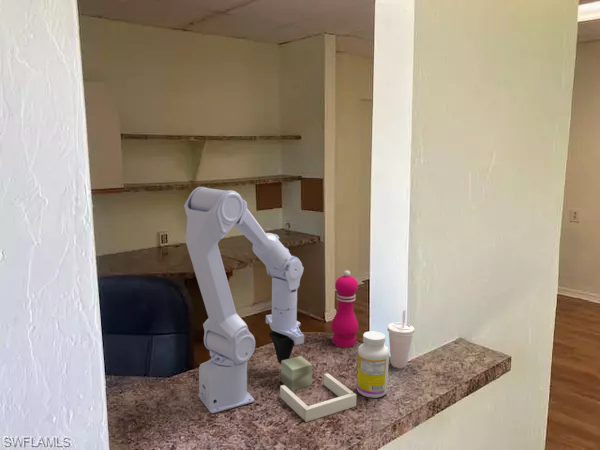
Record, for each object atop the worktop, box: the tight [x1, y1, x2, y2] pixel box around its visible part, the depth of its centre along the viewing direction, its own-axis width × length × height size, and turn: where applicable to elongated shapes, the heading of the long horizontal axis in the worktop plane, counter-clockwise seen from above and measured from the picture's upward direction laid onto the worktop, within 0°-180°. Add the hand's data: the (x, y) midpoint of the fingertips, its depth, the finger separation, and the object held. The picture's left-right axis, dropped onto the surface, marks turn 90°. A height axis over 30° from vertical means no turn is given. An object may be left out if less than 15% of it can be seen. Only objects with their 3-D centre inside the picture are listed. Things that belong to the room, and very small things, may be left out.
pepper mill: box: [330, 270, 359, 348], centre depth 129 cm, size 7×7×20 cm
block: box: [280, 355, 313, 392], centre depth 108 cm, size 5×5×5 cm
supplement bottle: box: [356, 330, 390, 399], centre depth 105 cm, size 7×7×13 cm
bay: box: [279, 372, 357, 423], centre depth 101 cm, size 12×10×2 cm
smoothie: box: [386, 309, 415, 369], centre depth 118 cm, size 6×6×14 cm
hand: (283, 362), depth 113 cm, fingers closed
